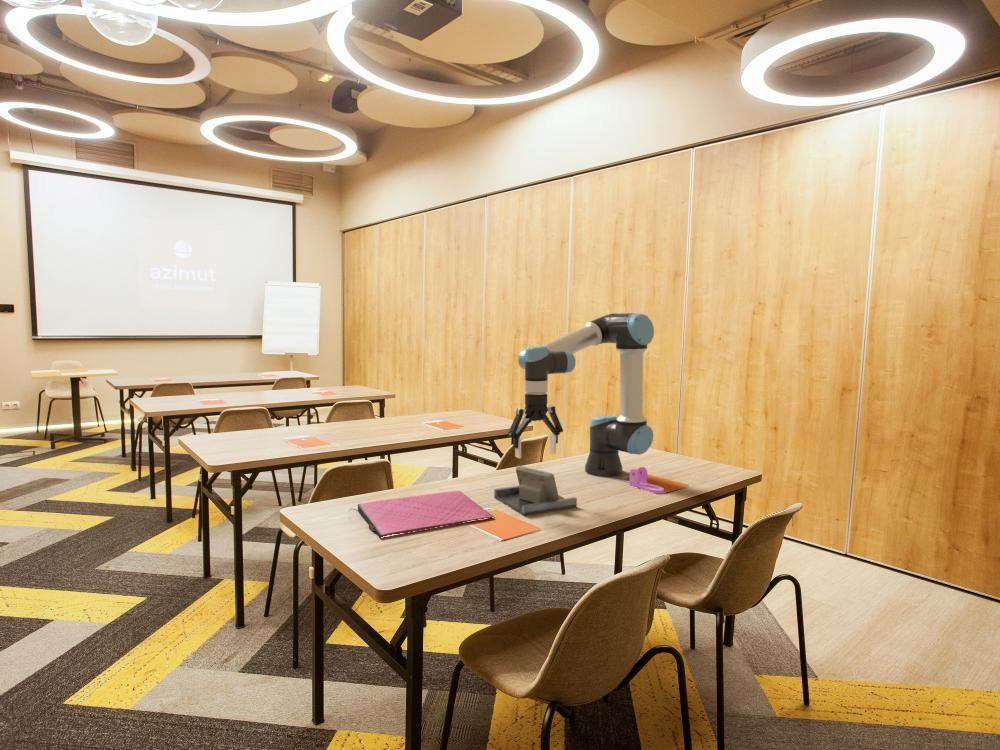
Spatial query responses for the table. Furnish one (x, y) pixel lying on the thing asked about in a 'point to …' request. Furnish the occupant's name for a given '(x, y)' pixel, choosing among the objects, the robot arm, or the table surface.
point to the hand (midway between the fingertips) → (535, 455)
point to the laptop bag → (420, 512)
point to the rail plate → (529, 508)
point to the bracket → (643, 481)
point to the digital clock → (536, 485)
